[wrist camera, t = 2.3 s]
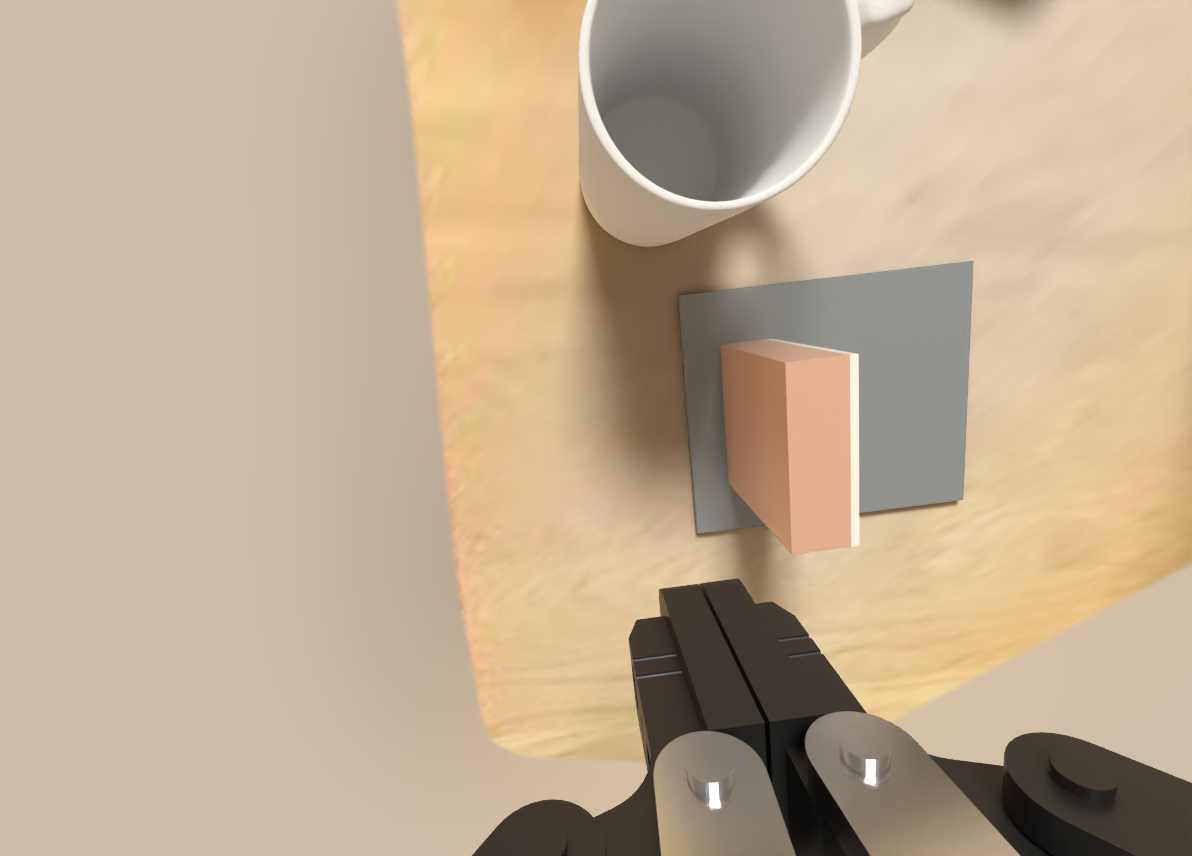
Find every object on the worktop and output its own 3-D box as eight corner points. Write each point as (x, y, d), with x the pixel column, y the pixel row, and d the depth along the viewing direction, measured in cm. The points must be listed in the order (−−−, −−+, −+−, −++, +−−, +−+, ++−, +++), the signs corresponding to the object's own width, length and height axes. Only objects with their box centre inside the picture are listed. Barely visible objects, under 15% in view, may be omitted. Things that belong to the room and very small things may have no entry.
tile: (771, 338, 26) (858, 353, 18) (777, 477, 28) (859, 545, 20) (720, 344, 26) (785, 362, 18) (728, 483, 28) (791, 554, 20)
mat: (967, 261, 26) (973, 261, 26) (957, 497, 29) (963, 499, 29) (677, 295, 26) (679, 295, 25) (696, 530, 29) (697, 533, 28)
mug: (607, 276, 26) (641, 254, 14) (548, 130, 24) (531, -34, 12) (809, 188, 25) (1020, 89, 13) (762, 34, 24) (954, -230, 12)
